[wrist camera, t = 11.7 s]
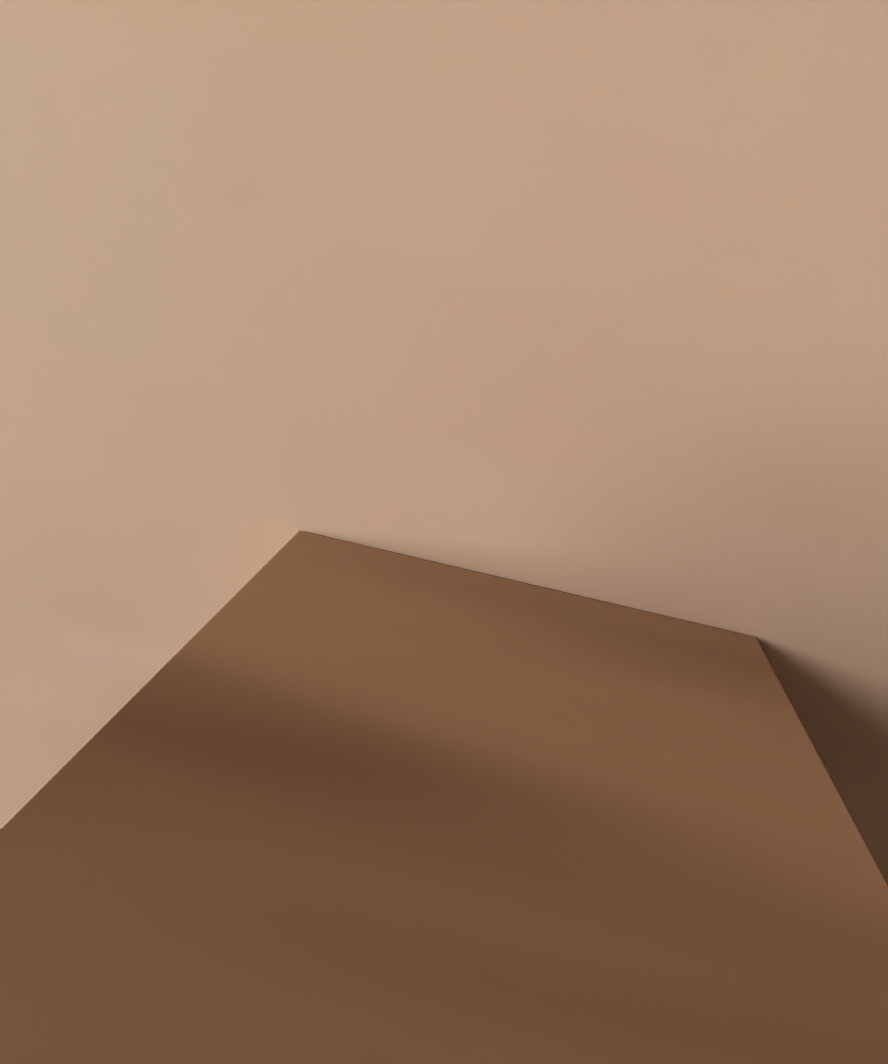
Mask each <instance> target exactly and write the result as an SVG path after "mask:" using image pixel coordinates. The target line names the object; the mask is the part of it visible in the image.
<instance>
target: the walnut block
mask: <svg viewBox="0 0 888 1064" xmlns="http://www.w3.org/2000/svg"><path fill="white" fill-rule="evenodd" d="M0 1064H888V886H887V884H886V882H885V880H884V878H883V876H882V874H881V872H880V871H879V869H878V867H877V865H876V863H875V861H874V859H873V857H872V855H871V854H870V852H869V850H868V848H867V846H866V844H865V842H864V840H863V839H862V837H861V835H860V833H859V831H858V829H857V827H856V825H855V823H854V822H853V820H852V818H851V816H850V814H849V812H848V810H847V808H846V806H845V805H844V803H843V801H842V799H841V797H840V795H839V793H838V791H837V789H836V788H835V786H834V784H833V782H832V780H831V778H830V776H829V774H828V773H827V771H826V769H825V767H824V765H823V763H822V761H821V759H820V757H819V756H818V754H817V752H816V750H815V748H814V746H813V744H812V742H811V740H810V739H809V737H808V735H807V733H806V731H805V729H804V727H803V725H802V724H801V722H800V720H799V718H798V716H797V714H796V712H795V710H794V708H793V707H792V705H791V703H790V701H789V699H788V697H787V695H786V693H785V691H784V690H783V688H782V686H781V684H780V682H779V680H778V678H777V676H776V674H775V673H774V671H773V669H772V667H771V665H770V663H769V661H768V659H767V658H766V656H765V654H764V652H763V650H762V648H761V646H760V644H759V642H758V641H757V639H756V637H753V636H749V635H744V634H740V633H736V632H731V631H727V630H723V629H719V628H714V627H710V626H706V625H701V624H697V623H693V622H689V621H684V620H680V619H676V618H671V617H667V616H663V615H659V614H654V613H650V612H646V611H641V610H637V609H633V608H629V607H624V606H620V605H616V604H611V603H607V602H603V601H599V600H594V599H590V598H586V597H581V596H577V595H573V594H569V593H564V592H560V591H556V590H551V589H547V588H543V587H539V586H534V585H530V584H526V583H521V582H517V581H513V580H508V579H504V578H500V577H496V576H491V575H487V574H483V573H478V572H474V571H470V570H466V569H461V568H457V567H453V566H448V565H444V564H440V563H436V562H431V561H427V560H423V559H418V558H414V557H410V556H406V555H401V554H397V553H393V552H388V551H384V550H380V549H376V548H371V547H367V546H363V545H358V544H354V543H350V542H346V541H341V540H337V539H333V538H328V537H324V536H320V535H316V534H311V533H307V532H303V531H299V532H298V533H297V534H296V535H295V536H294V537H293V538H292V539H291V540H290V541H289V542H288V543H287V544H286V545H285V546H284V547H283V548H282V549H281V550H280V551H279V552H278V553H277V554H276V555H275V556H274V557H273V558H272V559H271V560H270V561H269V562H268V563H267V564H266V565H265V566H264V567H263V568H262V569H261V570H260V571H259V572H258V573H257V574H256V575H255V576H254V577H253V578H252V579H251V580H250V581H249V582H248V583H247V584H246V585H245V586H244V587H243V588H242V589H241V590H240V591H239V592H238V593H237V594H236V595H235V596H234V597H233V598H232V599H231V600H230V601H229V602H228V603H227V604H226V605H225V606H224V607H223V608H222V609H221V610H220V611H219V612H218V613H217V614H216V615H215V616H214V617H213V618H212V619H211V620H210V621H209V622H208V623H207V624H206V625H205V626H204V627H203V628H202V629H201V630H200V631H199V632H198V633H197V634H196V635H195V636H194V637H193V638H192V639H191V640H190V641H189V642H188V643H187V644H186V645H185V646H184V647H183V648H182V649H181V650H180V651H179V652H178V653H177V654H176V655H175V656H174V657H173V658H172V659H171V660H170V661H169V662H168V663H167V664H166V665H165V666H164V667H163V668H162V669H161V670H160V671H159V672H158V673H157V674H156V675H155V676H154V677H153V678H152V679H151V680H150V681H149V682H148V683H147V684H146V685H145V686H144V687H143V688H142V689H141V690H140V691H139V692H138V693H137V694H136V695H135V696H134V697H133V698H132V699H131V700H130V701H129V702H128V703H127V704H126V705H125V706H124V707H123V708H122V709H121V710H120V711H119V712H118V713H117V714H116V715H115V716H114V717H113V718H112V719H111V720H110V721H109V722H108V723H107V724H106V725H105V726H104V727H103V728H102V729H101V730H100V731H99V732H98V733H97V734H96V735H95V736H94V737H93V738H92V739H91V740H90V741H89V742H88V743H87V744H86V745H85V746H84V747H83V748H82V749H81V750H80V751H79V752H78V753H77V754H76V755H75V756H74V757H73V758H72V759H71V760H70V761H69V762H68V763H67V764H66V765H65V766H64V767H63V768H62V769H61V770H60V771H59V772H58V773H57V774H56V775H55V776H54V777H53V778H52V779H51V780H50V781H49V782H48V783H47V784H46V785H45V786H44V787H43V788H42V789H41V790H40V791H39V792H38V793H37V794H36V795H35V796H34V797H33V798H32V799H31V800H30V801H29V802H28V803H27V804H26V805H25V806H24V807H23V808H22V809H21V810H20V811H19V812H18V813H17V814H16V815H15V816H14V817H13V818H12V819H11V820H10V821H9V822H8V823H7V824H6V825H5V826H4V827H3V828H2V829H1V830H0Z"/></svg>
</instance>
